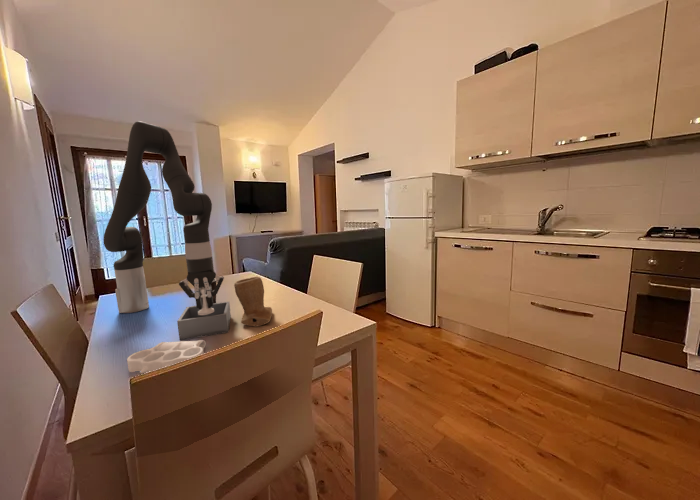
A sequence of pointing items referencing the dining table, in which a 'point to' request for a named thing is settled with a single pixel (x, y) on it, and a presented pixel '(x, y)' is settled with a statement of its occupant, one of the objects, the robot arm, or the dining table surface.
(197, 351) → the white muffin tray
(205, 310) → the chess piece
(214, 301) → the coffee mug
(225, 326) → the bin
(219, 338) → the dining table surface
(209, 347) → the dining table surface
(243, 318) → the tan upright curved piece
